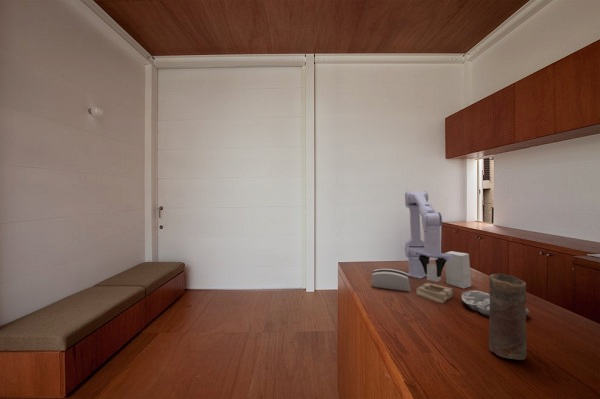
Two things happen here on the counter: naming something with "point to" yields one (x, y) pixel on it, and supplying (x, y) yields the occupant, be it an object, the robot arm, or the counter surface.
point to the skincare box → (458, 270)
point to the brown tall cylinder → (507, 317)
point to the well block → (435, 292)
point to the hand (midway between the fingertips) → (432, 275)
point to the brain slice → (479, 301)
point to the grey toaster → (391, 279)
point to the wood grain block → (432, 273)
